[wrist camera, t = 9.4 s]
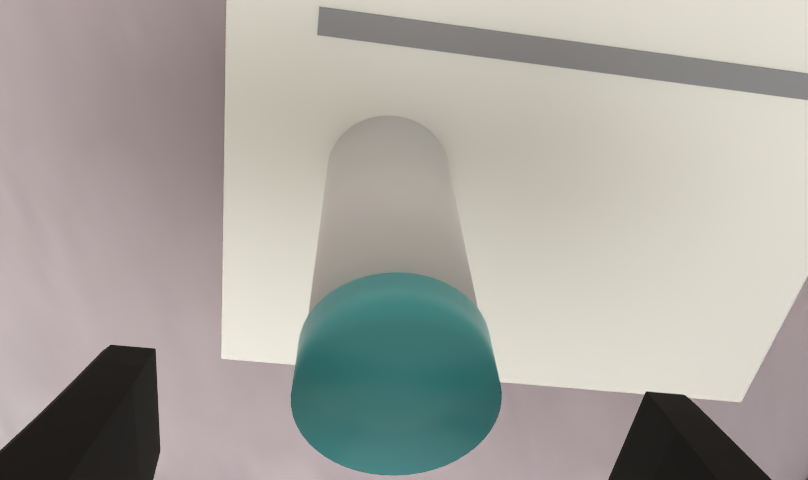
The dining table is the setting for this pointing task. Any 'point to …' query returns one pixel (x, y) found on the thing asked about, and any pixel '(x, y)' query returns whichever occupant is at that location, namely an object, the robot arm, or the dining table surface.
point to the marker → (393, 312)
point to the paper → (542, 173)
